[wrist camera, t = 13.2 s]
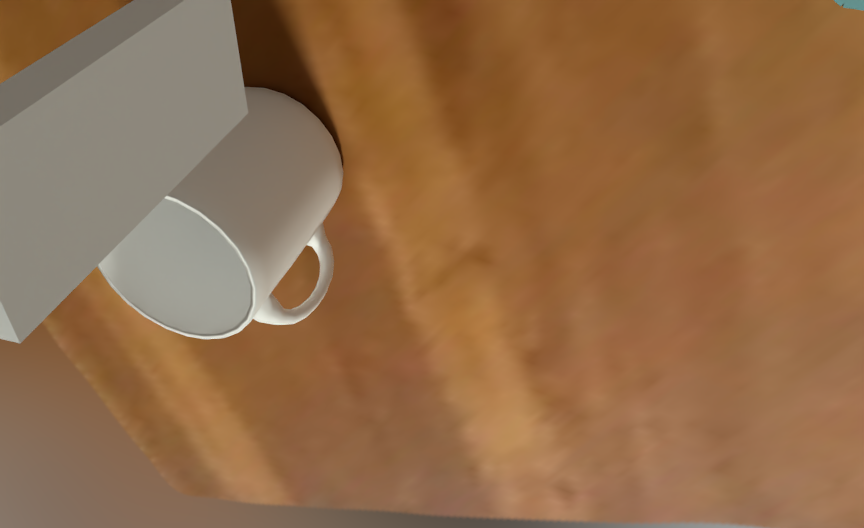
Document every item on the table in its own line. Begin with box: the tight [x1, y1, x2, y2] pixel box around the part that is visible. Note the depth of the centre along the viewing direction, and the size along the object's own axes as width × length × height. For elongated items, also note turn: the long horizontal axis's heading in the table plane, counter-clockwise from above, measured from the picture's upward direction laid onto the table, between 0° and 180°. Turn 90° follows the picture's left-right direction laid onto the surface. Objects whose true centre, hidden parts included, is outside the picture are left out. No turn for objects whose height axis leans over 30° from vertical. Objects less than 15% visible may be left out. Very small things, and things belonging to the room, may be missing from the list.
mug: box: [97, 87, 343, 339], centre depth 43 cm, size 10×12×12 cm
